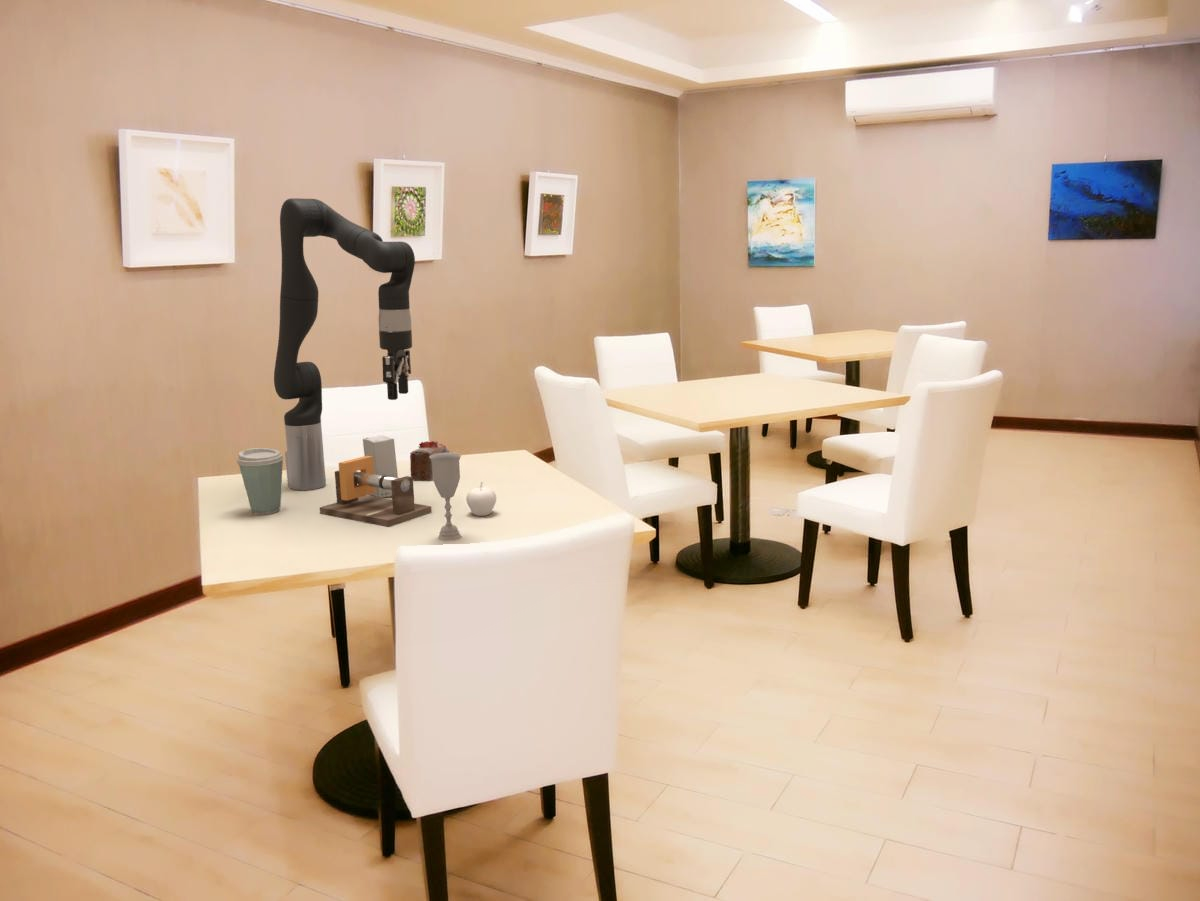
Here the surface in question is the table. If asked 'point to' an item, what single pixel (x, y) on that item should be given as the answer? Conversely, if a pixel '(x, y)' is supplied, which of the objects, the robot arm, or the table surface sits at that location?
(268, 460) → the disposable coffee cup
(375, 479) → the pipe
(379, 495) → the skincare box
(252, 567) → the table surface
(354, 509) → the pipe stand
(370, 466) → the square ring
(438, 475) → the chalice
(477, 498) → the plain white apple
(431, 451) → the food item
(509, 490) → the table surface
